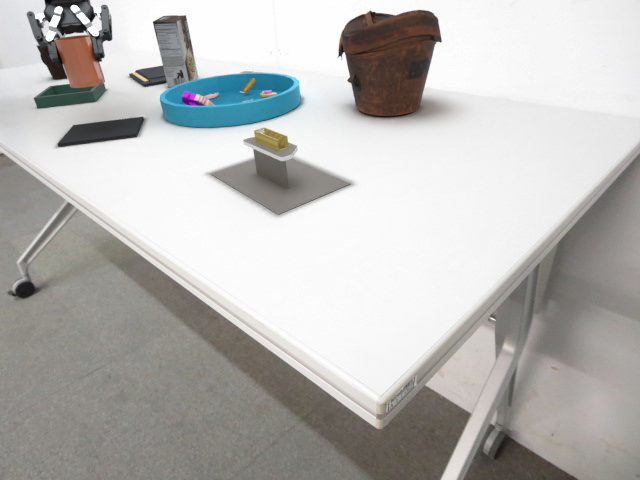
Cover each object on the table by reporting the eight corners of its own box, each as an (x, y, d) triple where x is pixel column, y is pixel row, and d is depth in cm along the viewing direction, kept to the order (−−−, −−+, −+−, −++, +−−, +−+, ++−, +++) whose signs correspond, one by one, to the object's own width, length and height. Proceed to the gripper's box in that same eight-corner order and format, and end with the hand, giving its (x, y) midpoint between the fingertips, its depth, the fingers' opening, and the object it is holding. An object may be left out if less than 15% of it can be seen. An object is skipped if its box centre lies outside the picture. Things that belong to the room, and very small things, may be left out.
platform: (276, 151, 72) (271, 111, 69) (350, 183, 60) (349, 136, 57) (210, 173, 66) (201, 131, 63) (278, 214, 54) (271, 164, 51)
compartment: (37, 108, 108) (33, 98, 107) (53, 95, 120) (49, 85, 118) (95, 101, 110) (92, 91, 109) (106, 89, 122) (103, 80, 120)
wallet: (195, 71, 126) (140, 80, 120) (196, 78, 127) (142, 87, 121) (176, 61, 141) (127, 69, 135) (178, 68, 142) (129, 76, 136)
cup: (67, 89, 80) (49, 41, 76) (75, 82, 85) (59, 37, 81) (101, 85, 81) (86, 38, 77) (107, 78, 86) (93, 33, 82)
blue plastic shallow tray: (133, 121, 93) (125, 92, 90) (219, 86, 116) (214, 62, 113) (253, 133, 81) (249, 100, 78) (323, 91, 104) (321, 65, 101)
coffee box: (176, 78, 126) (162, 15, 117) (199, 77, 125) (186, 14, 116) (166, 87, 118) (151, 20, 109) (190, 86, 118) (177, 19, 109)
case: (360, 93, 100) (359, 4, 91) (448, 99, 91) (457, 1, 82) (321, 115, 88) (315, 14, 78) (419, 125, 79) (425, 13, 69)
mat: (58, 146, 82) (56, 143, 82) (74, 127, 92) (73, 124, 92) (136, 136, 84) (135, 133, 84) (144, 119, 94) (143, 116, 94)
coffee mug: (66, 73, 147) (55, 41, 142) (84, 74, 144) (73, 41, 138) (34, 81, 138) (20, 47, 133) (52, 83, 135) (39, 47, 130)
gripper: (12, -30, 78) (25, 52, 74) (99, -36, 81) (115, 42, 77) (31, 3, 85) (43, 79, 81) (110, -4, 88) (126, 69, 85)
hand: (78, 61), depth 79 cm, fingers closed on cup, 6 cm apart
